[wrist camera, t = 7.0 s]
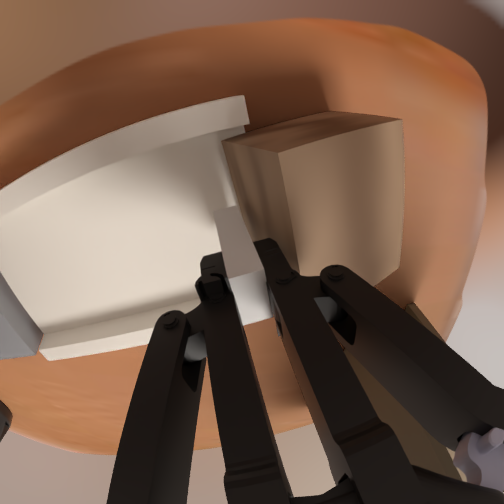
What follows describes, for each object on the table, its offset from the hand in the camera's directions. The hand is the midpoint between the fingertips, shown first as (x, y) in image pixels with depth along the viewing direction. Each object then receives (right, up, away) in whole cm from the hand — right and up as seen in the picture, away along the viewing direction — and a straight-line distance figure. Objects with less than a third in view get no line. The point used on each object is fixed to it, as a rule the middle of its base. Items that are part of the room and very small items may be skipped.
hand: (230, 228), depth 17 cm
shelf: (-9, -1, +2) cm, 9 cm away
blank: (+4, +2, +2) cm, 5 cm away
